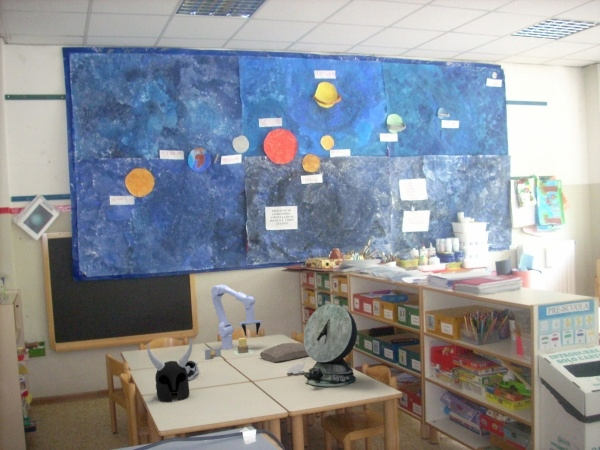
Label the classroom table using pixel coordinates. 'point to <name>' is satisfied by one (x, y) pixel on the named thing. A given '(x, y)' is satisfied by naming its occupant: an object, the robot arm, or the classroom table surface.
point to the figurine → (297, 368)
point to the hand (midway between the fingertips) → (251, 335)
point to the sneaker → (191, 369)
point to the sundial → (330, 345)
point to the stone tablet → (284, 352)
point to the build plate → (243, 353)
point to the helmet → (171, 376)
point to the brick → (242, 342)
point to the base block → (242, 349)
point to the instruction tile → (212, 353)
